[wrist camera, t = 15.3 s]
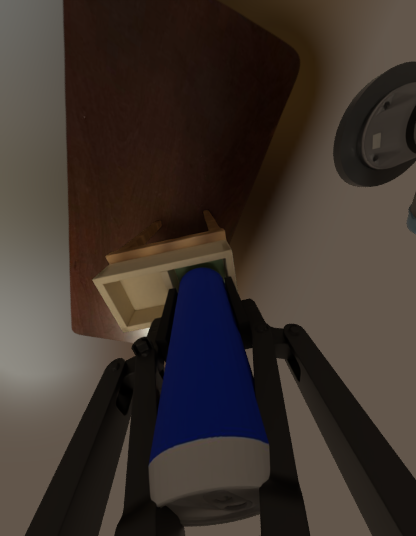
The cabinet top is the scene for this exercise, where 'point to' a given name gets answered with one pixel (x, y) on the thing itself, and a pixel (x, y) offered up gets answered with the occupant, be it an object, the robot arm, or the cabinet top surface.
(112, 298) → the tray
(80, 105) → the cabinet top surface
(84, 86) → the cabinet top surface
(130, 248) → the shelf
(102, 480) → the robot arm
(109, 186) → the cabinet top surface
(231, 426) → the beverage can
